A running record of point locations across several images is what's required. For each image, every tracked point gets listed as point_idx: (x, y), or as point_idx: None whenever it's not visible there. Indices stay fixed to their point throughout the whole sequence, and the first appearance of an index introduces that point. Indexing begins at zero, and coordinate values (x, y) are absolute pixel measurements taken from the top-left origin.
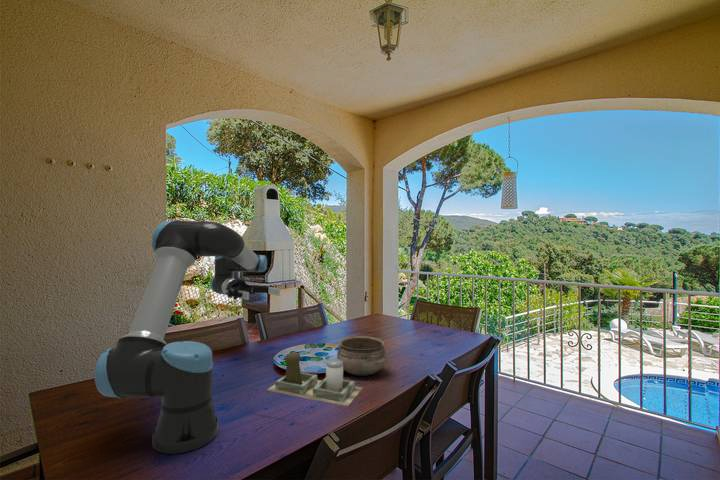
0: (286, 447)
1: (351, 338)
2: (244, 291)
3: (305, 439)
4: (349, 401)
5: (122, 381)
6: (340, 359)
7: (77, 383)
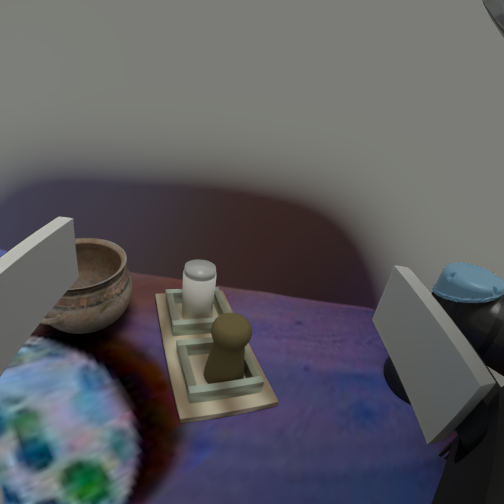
0: (327, 305)
1: None
2: (429, 305)
3: (304, 300)
4: None
5: None
6: (121, 303)
7: None
